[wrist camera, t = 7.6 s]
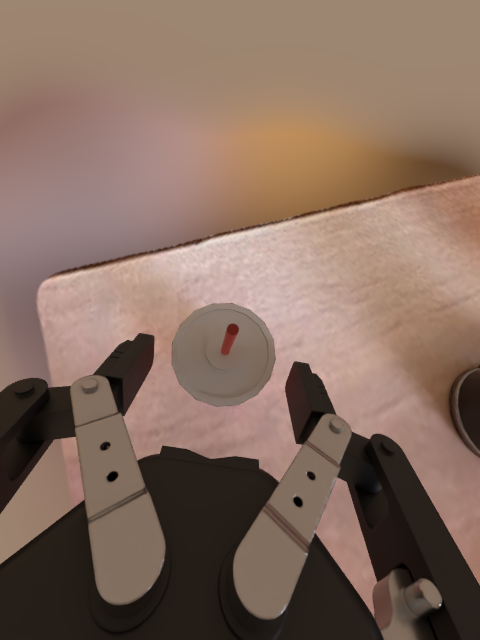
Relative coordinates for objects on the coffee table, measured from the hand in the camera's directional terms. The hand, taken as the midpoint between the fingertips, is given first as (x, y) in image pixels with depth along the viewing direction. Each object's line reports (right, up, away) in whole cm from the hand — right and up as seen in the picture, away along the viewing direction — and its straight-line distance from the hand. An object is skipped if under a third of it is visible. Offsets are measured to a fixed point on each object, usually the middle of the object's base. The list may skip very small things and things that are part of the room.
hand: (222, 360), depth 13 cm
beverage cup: (-1, -2, +9) cm, 9 cm away
